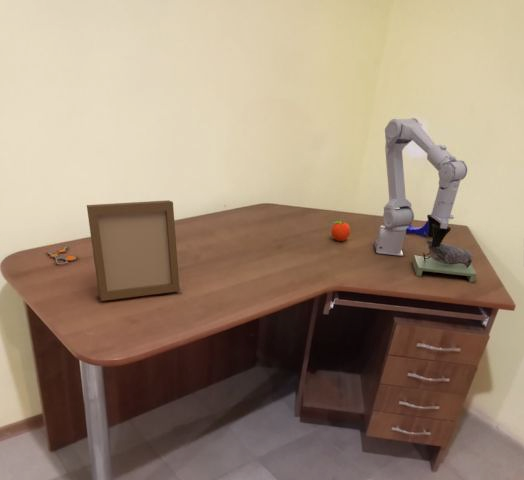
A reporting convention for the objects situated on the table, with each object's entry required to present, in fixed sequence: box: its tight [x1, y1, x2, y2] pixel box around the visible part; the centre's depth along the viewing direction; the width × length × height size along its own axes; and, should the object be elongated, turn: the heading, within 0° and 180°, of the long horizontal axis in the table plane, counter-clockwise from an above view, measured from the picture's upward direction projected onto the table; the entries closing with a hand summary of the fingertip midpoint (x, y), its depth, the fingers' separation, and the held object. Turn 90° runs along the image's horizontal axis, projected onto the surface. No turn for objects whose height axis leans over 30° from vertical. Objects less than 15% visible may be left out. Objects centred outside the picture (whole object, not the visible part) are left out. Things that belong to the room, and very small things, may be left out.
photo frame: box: [86, 200, 181, 302], centre depth 143 cm, size 15×22×25 cm
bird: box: [422, 239, 474, 268], centre depth 172 cm, size 5×16×8 cm, turn 79°
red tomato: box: [328, 220, 351, 242], centre depth 191 cm, size 8×7×7 cm
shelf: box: [411, 254, 478, 283], centre depth 175 cm, size 19×10×3 cm, turn 85°
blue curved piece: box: [405, 219, 428, 238], centre depth 204 cm, size 12×4×6 cm, turn 58°
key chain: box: [46, 245, 77, 265], centre depth 163 cm, size 13×7×1 cm, turn 31°
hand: (433, 241), depth 170 cm, fingers open, 7 cm apart
